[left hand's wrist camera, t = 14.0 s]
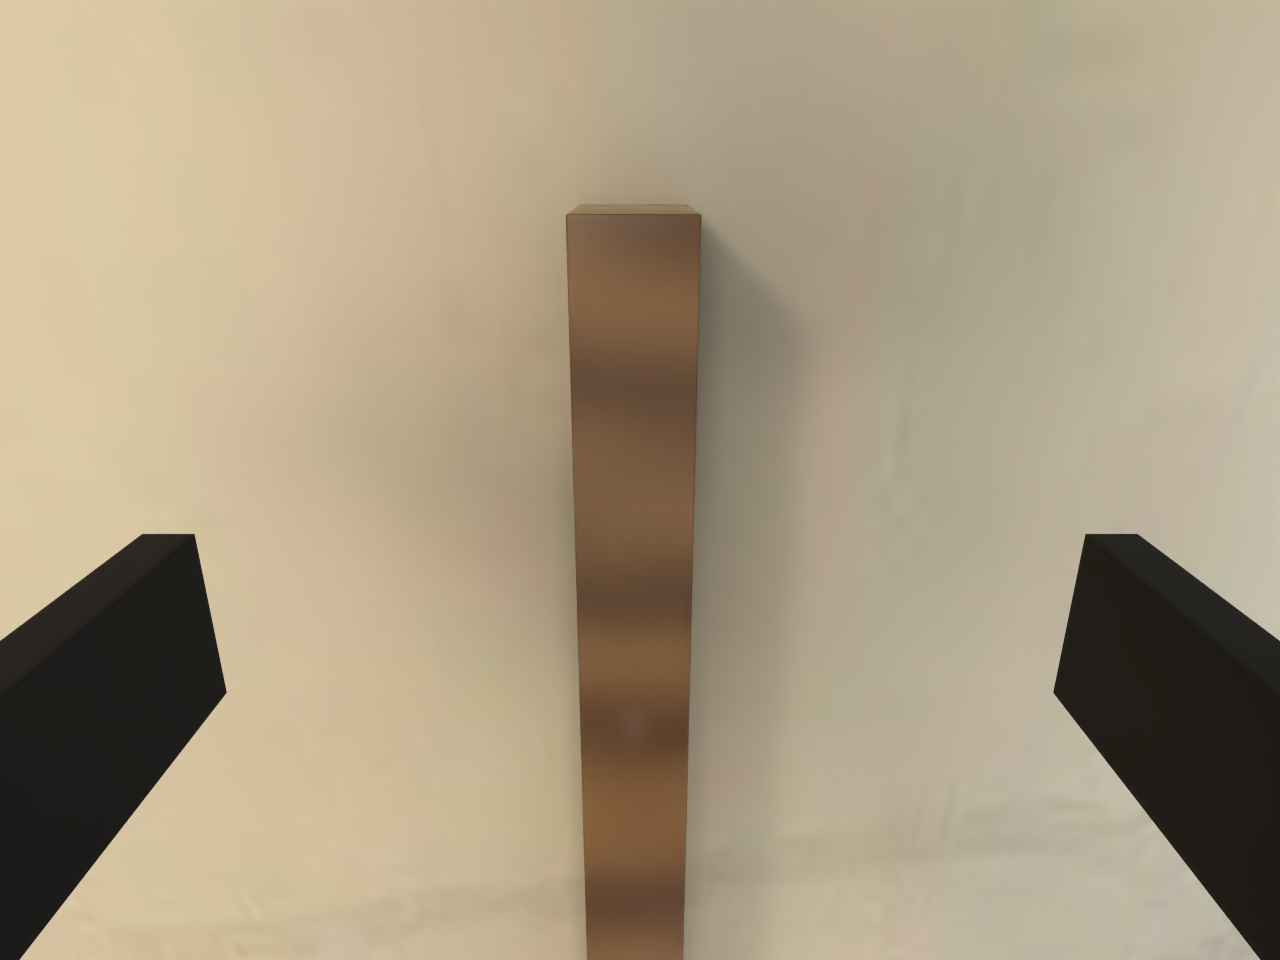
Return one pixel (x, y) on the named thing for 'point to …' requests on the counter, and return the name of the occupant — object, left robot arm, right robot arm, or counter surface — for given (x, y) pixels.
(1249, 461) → the counter surface
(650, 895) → the post
